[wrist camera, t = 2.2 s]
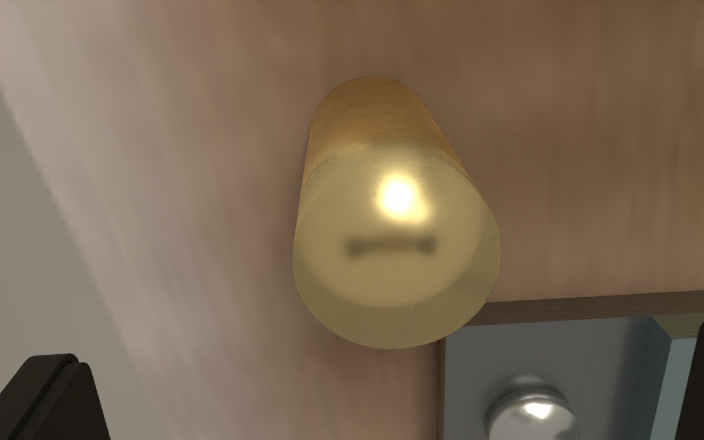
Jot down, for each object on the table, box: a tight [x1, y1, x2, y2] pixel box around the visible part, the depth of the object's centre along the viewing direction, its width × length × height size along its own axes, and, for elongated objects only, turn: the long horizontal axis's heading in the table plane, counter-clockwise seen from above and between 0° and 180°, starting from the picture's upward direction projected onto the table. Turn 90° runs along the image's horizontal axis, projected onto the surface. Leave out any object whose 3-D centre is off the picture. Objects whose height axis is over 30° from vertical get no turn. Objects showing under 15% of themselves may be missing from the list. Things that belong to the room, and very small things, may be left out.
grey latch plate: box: [437, 291, 704, 440], centre depth 24 cm, size 10×18×2 cm, turn 93°
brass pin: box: [292, 77, 502, 349], centre depth 16 cm, size 4×4×9 cm
